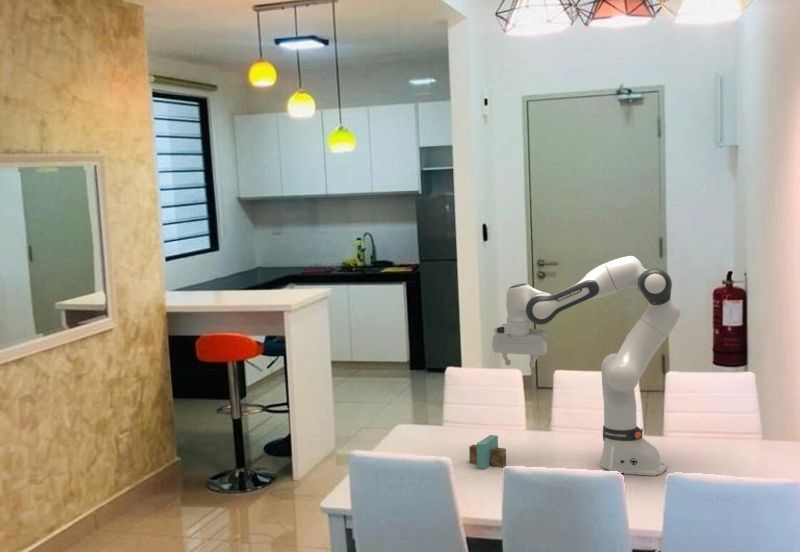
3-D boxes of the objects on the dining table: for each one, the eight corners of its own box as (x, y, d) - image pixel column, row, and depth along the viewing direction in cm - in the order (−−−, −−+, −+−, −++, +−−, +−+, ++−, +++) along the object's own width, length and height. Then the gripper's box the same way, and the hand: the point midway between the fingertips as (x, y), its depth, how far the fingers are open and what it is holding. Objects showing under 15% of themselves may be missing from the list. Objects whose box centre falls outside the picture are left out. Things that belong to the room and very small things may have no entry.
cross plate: (490, 458, 314) (490, 434, 313) (498, 459, 313) (497, 435, 312) (477, 468, 304) (476, 443, 303) (485, 469, 302) (484, 444, 301)
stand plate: (506, 464, 306) (505, 448, 306) (503, 467, 304) (502, 450, 303) (473, 460, 313) (472, 444, 312) (469, 462, 310) (469, 446, 310)
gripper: (549, 328, 308) (550, 366, 309) (496, 325, 318) (497, 362, 319) (543, 331, 302) (544, 369, 303) (490, 328, 312) (491, 365, 313)
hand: (520, 365), depth 311 cm, fingers open, 8 cm apart
